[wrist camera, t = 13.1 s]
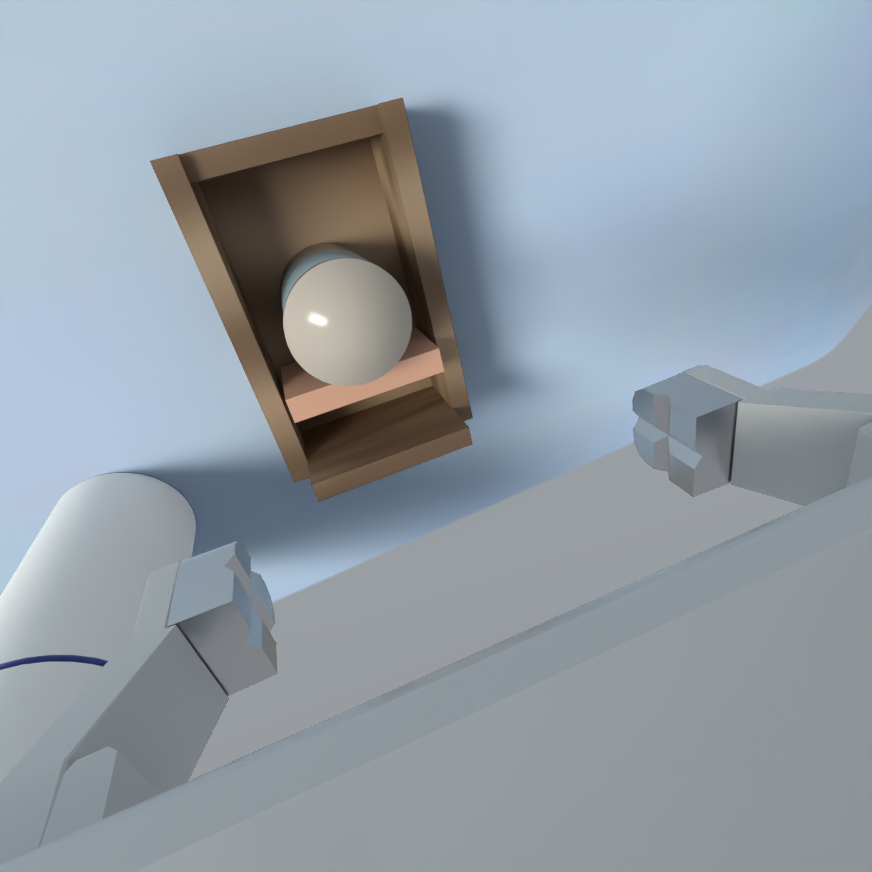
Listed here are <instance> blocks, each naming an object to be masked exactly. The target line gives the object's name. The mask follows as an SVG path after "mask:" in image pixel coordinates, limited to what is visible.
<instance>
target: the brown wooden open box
mask: <svg viewBox="0 0 872 872" xmlns="http://www.w3.org/2000/svg"><path fill="white" fill-rule="evenodd" d="M150 162H151V164H152V167H153V169H154V171H155V173H156V176H157V178H158V180H159V182H160V184H161V187H162V189H163V191H164V193H165V196H166V198H167V200H168V202H169V204H170V207H171V209H172V211H173V213H174V216H175V218H176V220H177V222H178V224H179V227H180V229H181V231H182V233H183V236H184V238H185V240H186V242H187V244H188V247H189V249H190V251H191V253H192V255H193V258H194V260H195V262H196V264H197V267H198V269H199V271H200V273H201V275H202V278H203V280H204V282H205V284H206V287H207V289H208V291H209V293H210V295H211V298H212V300H213V302H214V304H215V307H216V309H217V311H218V313H219V315H220V318H221V320H222V322H223V324H224V327H225V329H226V331H227V333H228V335H229V338H230V340H231V342H232V344H233V347H234V349H235V351H236V353H237V355H238V358H239V360H240V362H241V364H242V367H243V369H244V371H245V373H246V375H247V378H248V380H249V382H250V384H251V386H252V389H253V391H254V393H255V395H256V398H257V400H258V402H259V404H260V406H261V409H262V411H263V413H264V415H265V418H266V420H267V422H268V424H269V426H270V429H271V431H272V433H273V435H274V438H275V440H276V442H277V444H278V446H279V449H280V451H281V453H282V455H283V458H284V460H285V462H286V464H287V466H288V469H289V471H290V473H291V475H292V478H293V480H294V482H298V481H301V480H303V479H306V478H309V477H310V479H311V484H312V487H313V489H314V492H315V494H316V496H317V499H318V501H322V500H324V499H327V498H330V497H332V496H335V495H338V494H340V493H343V492H346V491H348V490H351V489H354V488H356V487H359V486H362V485H364V484H367V483H370V482H372V481H375V480H378V479H380V478H383V477H386V476H388V475H391V474H394V473H397V472H399V471H402V470H405V469H407V468H410V467H413V466H415V465H418V464H421V463H423V462H426V461H429V460H431V459H434V458H437V457H439V456H442V455H445V454H447V453H450V452H453V451H455V450H458V449H461V448H463V447H466V446H469V445H472V440H471V435H470V431H469V427H468V426H467V425H466V424H465V422H464V421H465V420H468V419H471V418H473V417H472V413H471V408H470V403H469V399H468V394H467V390H466V385H465V380H464V376H463V371H462V367H461V362H460V358H459V353H458V348H457V344H456V339H455V335H454V330H453V325H452V321H451V316H450V312H449V307H448V302H447V298H446V293H445V289H444V284H443V280H442V275H441V270H440V266H439V261H438V257H437V252H436V247H435V243H434V238H433V234H432V229H431V224H430V220H429V215H428V211H427V206H426V202H425V197H424V192H423V188H422V183H421V179H420V174H419V169H418V165H417V160H416V156H415V151H414V146H413V142H412V137H411V133H410V128H409V124H408V119H407V114H406V110H405V105H404V101H403V98H399V99H395V100H391V101H387V102H383V103H379V104H378V105H375V106H371V107H367V108H363V109H359V110H355V111H351V112H347V113H343V114H339V115H335V116H331V117H327V118H323V119H319V120H315V121H311V122H307V123H303V124H299V125H295V126H291V127H287V128H283V129H279V130H275V131H271V132H267V133H263V134H259V135H255V136H251V137H247V138H243V139H239V140H235V141H231V142H227V143H223V144H219V145H216V146H212V147H208V148H204V149H200V150H196V151H192V152H188V153H184V154H180V155H178V154H176V155H172V156H168V157H164V158H160V159H156V160H152V161H150ZM327 242H328V243H337V244H341V245H344V246H347V247H349V248H351V249H353V250H354V251H356V252H357V253H359V254H360V255H361V256H363V257H364V258H365V259H367V260H368V261H369V262H371V263H373V264H375V265H377V266H379V267H381V268H382V269H383V270H385V271H386V272H388V273H389V274H390V275H391V276H392V277H393V278H394V279H395V280H396V281H397V282H398V283H399V285H400V286H401V288H402V289H403V291H404V293H405V295H406V297H407V299H408V302H409V305H410V309H411V314H412V324H413V325H414V326H415V327H416V328H417V329H418V330H419V331H420V332H422V333H423V334H424V335H425V336H426V337H427V338H428V339H429V340H430V341H431V342H433V343H434V344H435V345H436V346H437V347H438V348H439V351H440V355H441V359H442V363H443V367H444V372H441V373H438V374H435V375H432V376H430V377H427V378H424V379H421V380H418V381H415V382H412V383H409V384H406V385H404V386H401V387H398V388H395V389H392V390H389V391H386V392H383V393H380V394H377V395H375V396H372V397H369V398H366V399H363V400H360V401H357V402H354V403H351V404H349V405H346V406H343V407H340V408H337V409H334V410H331V411H328V412H325V413H322V414H320V415H317V416H314V417H311V418H308V419H305V420H302V421H299V422H296V423H295V422H294V420H293V417H292V415H291V413H290V410H289V408H288V405H287V403H286V401H285V395H284V388H283V381H282V374H281V366H284V365H288V364H291V363H294V362H297V361H296V360H295V358H294V357H293V355H292V354H291V351H290V349H289V347H288V345H287V342H286V338H285V334H284V328H283V310H282V305H281V300H280V281H281V277H282V274H283V271H284V269H285V267H286V266H287V264H288V262H289V261H290V260H291V259H292V258H293V257H294V256H295V255H296V254H297V253H298V252H299V251H301V250H302V249H304V248H306V247H308V246H311V245H314V244H318V243H327Z"/></svg>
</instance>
